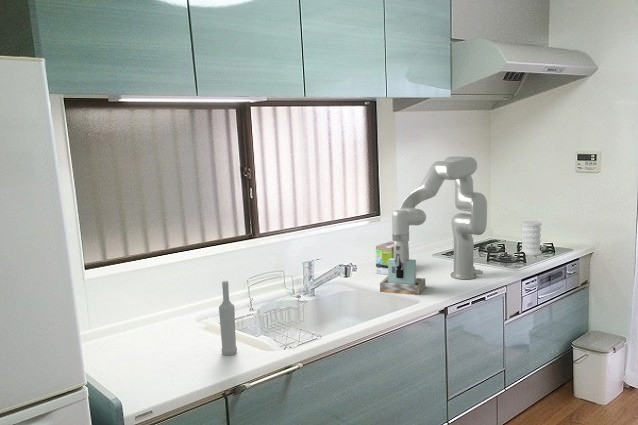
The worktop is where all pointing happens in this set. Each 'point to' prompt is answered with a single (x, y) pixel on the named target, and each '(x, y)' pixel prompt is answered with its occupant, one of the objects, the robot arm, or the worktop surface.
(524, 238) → the decorative container
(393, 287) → the track base
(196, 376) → the worktop surface
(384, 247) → the tea box
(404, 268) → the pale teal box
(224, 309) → the bottle
